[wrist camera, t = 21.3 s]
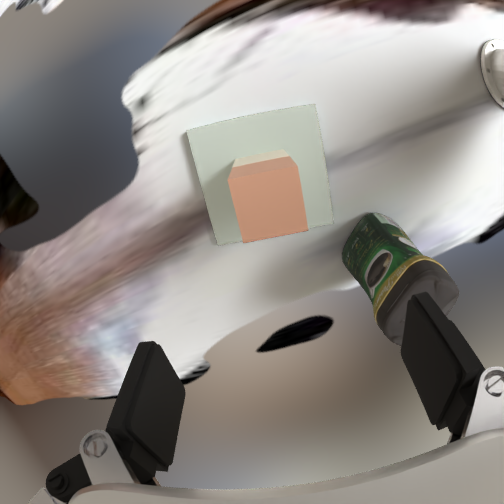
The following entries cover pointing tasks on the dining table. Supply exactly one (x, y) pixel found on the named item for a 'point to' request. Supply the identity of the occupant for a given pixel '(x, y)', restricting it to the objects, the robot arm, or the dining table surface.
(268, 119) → the board
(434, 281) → the coffee jar
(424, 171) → the dining table surface
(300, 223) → the terracotta block
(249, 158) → the cream block
